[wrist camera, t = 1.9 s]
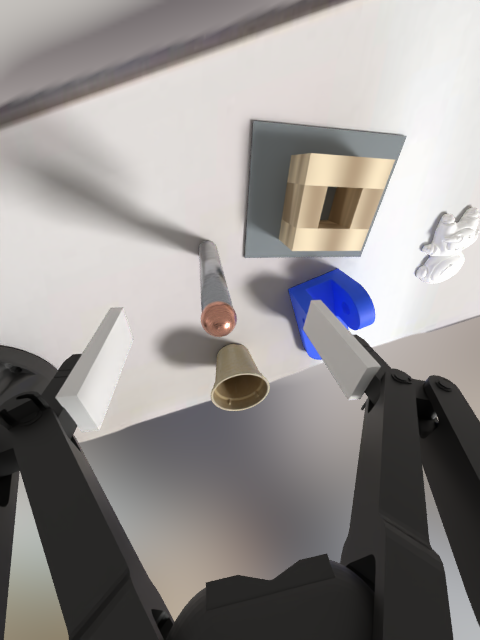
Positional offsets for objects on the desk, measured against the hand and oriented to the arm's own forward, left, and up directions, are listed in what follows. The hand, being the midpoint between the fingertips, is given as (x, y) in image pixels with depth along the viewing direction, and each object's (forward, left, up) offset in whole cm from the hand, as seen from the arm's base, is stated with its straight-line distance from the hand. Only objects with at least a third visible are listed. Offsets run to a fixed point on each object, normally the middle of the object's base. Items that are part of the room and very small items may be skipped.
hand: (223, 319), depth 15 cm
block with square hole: (+14, +6, -16) cm, 22 cm away
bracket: (+20, -13, -17) cm, 29 cm away
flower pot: (+4, -20, -16) cm, 26 cm away
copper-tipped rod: (0, 0, -16) cm, 16 cm away
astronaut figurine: (+38, 0, -17) cm, 42 cm away
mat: (+14, +6, -16) cm, 22 cm away
